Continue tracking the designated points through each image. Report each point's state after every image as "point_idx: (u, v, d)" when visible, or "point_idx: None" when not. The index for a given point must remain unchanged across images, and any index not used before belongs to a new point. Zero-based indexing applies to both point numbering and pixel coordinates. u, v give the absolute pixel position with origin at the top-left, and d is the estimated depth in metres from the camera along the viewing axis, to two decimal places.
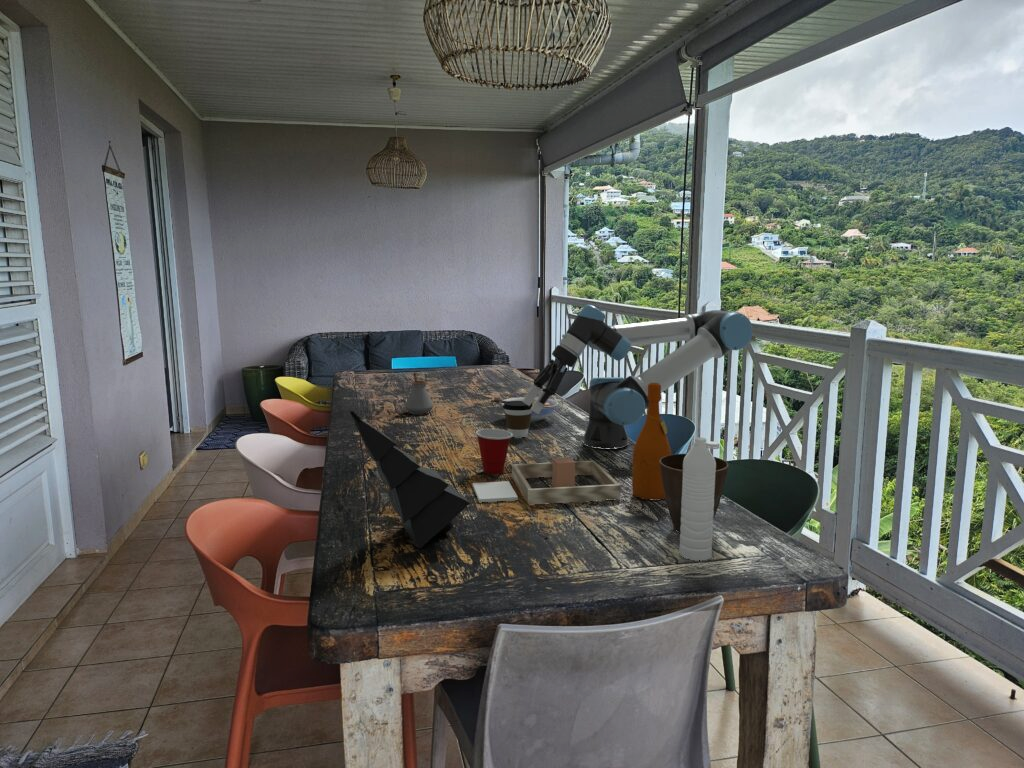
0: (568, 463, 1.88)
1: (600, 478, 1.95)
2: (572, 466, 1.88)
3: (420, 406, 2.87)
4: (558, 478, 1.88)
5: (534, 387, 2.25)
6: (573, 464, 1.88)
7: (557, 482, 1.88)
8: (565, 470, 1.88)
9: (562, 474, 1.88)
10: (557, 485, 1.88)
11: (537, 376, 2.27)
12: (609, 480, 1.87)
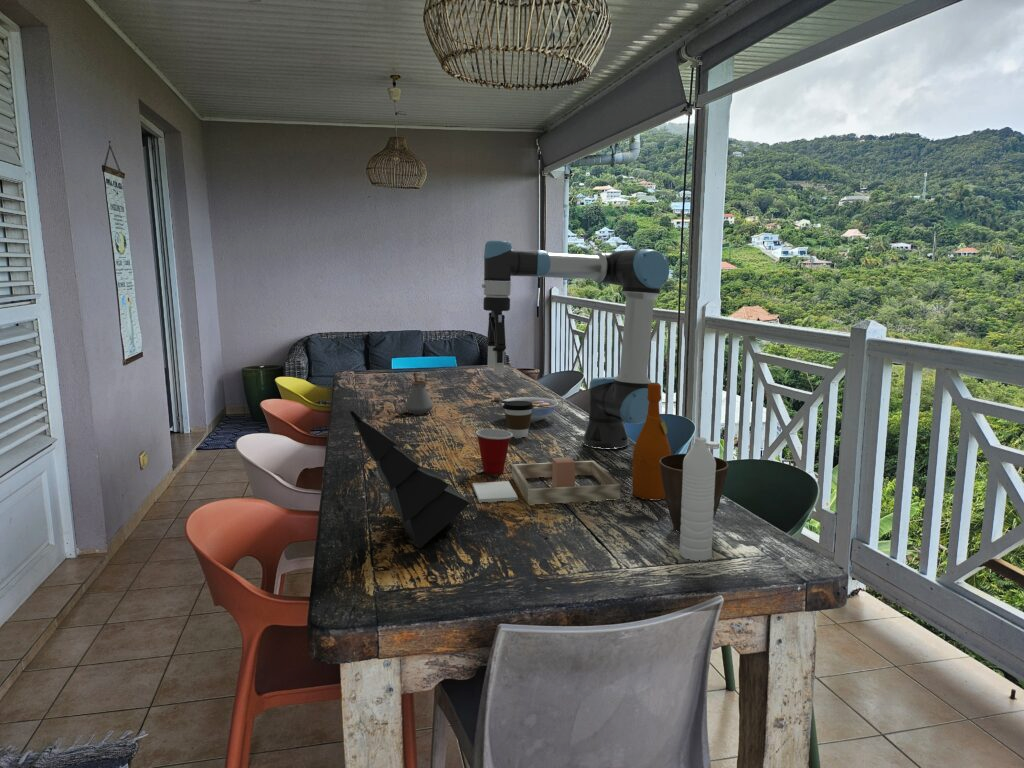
0: (568, 463, 1.88)
1: (600, 478, 1.95)
2: (572, 466, 1.88)
3: (420, 406, 2.87)
4: (558, 478, 1.88)
5: (490, 348, 2.08)
6: (573, 464, 1.88)
7: (557, 482, 1.88)
8: (565, 470, 1.88)
9: (562, 474, 1.88)
10: (557, 485, 1.88)
11: (487, 336, 2.10)
12: (609, 480, 1.87)
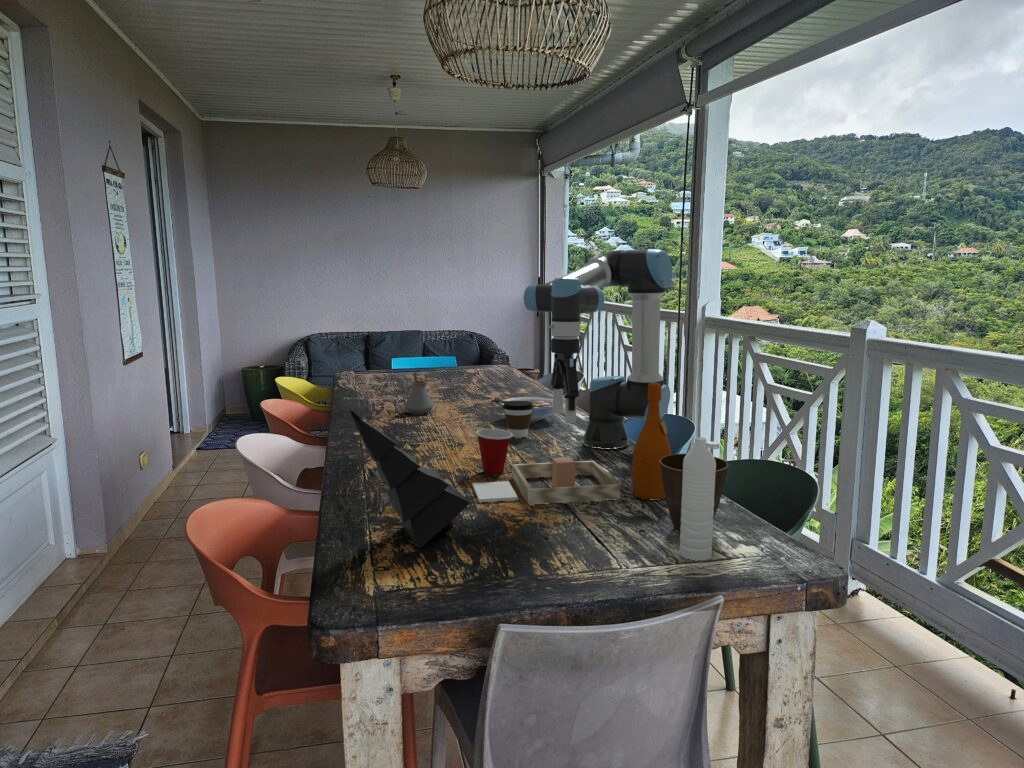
0: (568, 463, 1.88)
1: (600, 478, 1.95)
2: (572, 466, 1.88)
3: (420, 406, 2.87)
4: (558, 478, 1.88)
5: (555, 391, 1.93)
6: (573, 464, 1.88)
7: (557, 482, 1.88)
8: (565, 470, 1.88)
9: (562, 474, 1.88)
10: (557, 485, 1.88)
11: (552, 378, 1.95)
12: (609, 480, 1.87)
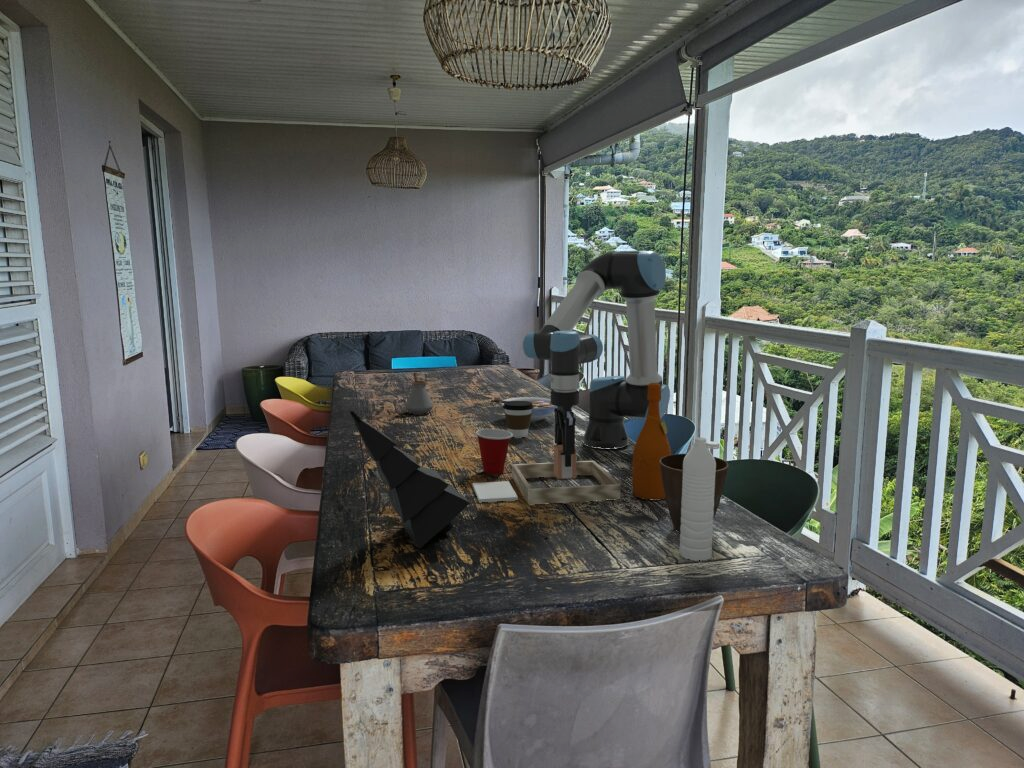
0: None
1: (600, 478, 1.95)
2: None
3: (420, 406, 2.87)
4: (559, 465, 1.88)
5: None
6: None
7: (558, 469, 1.88)
8: None
9: None
10: (558, 472, 1.88)
11: None
12: (609, 480, 1.87)
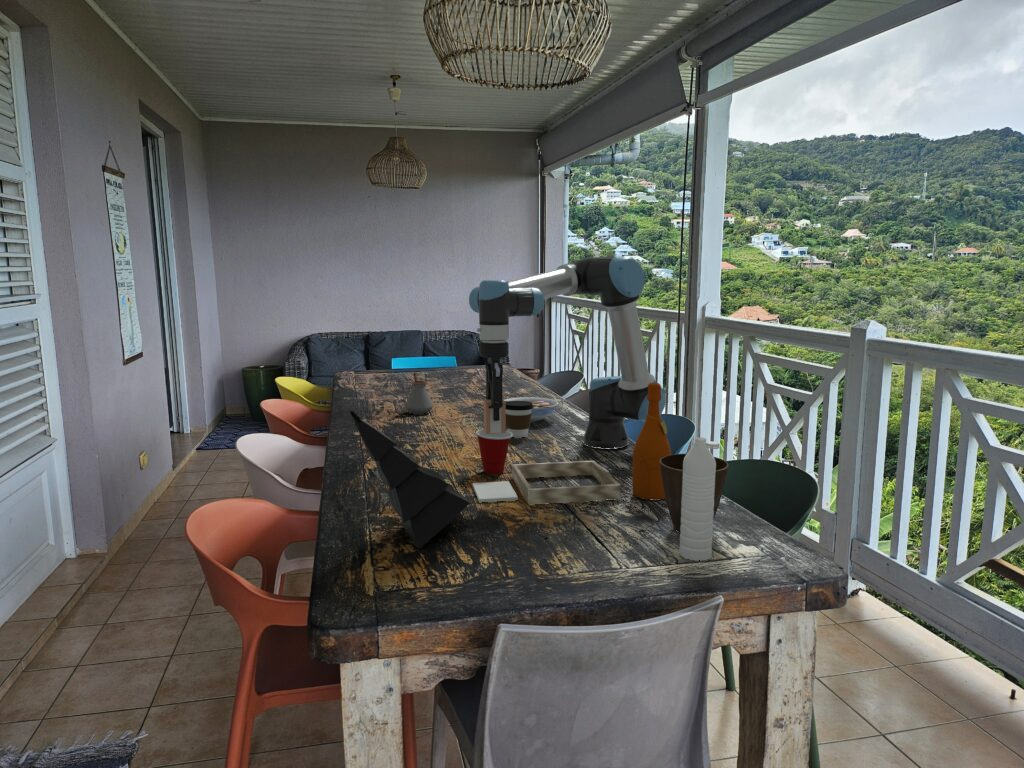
0: None
1: (600, 478, 1.95)
2: (502, 406, 1.81)
3: (420, 406, 2.87)
4: (488, 419, 1.81)
5: None
6: (503, 405, 1.81)
7: (487, 423, 1.81)
8: None
9: None
10: (487, 426, 1.81)
11: (486, 391, 1.88)
12: (609, 480, 1.87)
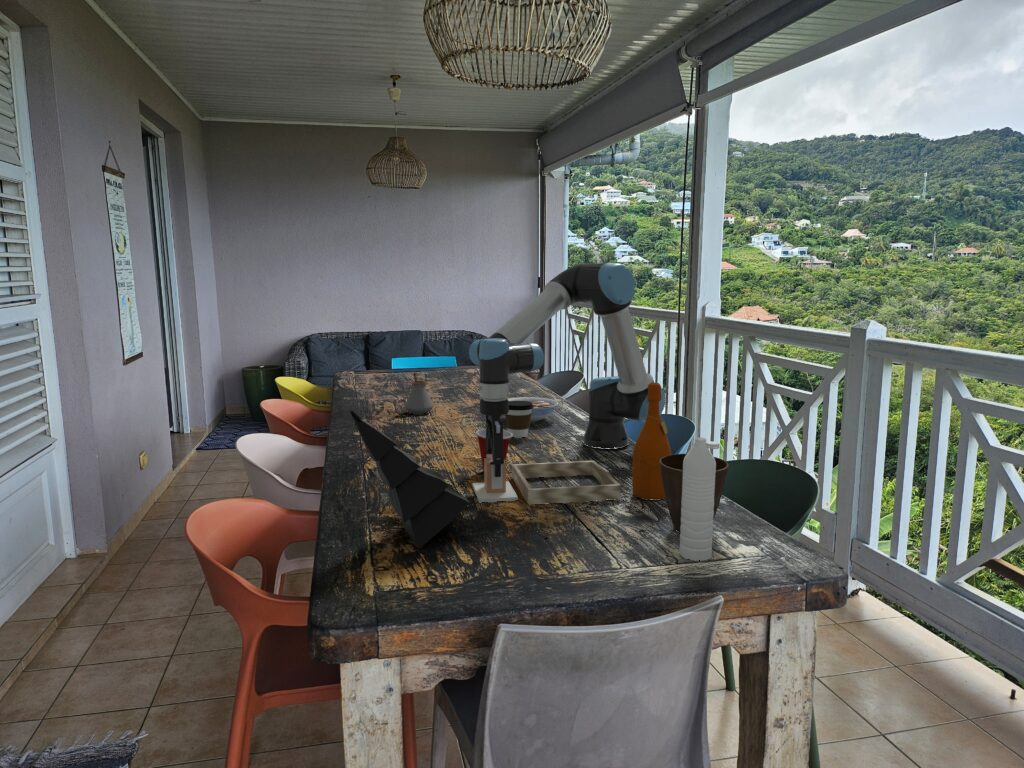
0: None
1: (600, 478, 1.95)
2: (503, 466, 1.84)
3: (420, 406, 2.87)
4: (488, 479, 1.84)
5: (489, 457, 1.90)
6: (504, 464, 1.84)
7: (487, 483, 1.84)
8: None
9: None
10: (487, 486, 1.84)
11: None
12: (609, 480, 1.87)
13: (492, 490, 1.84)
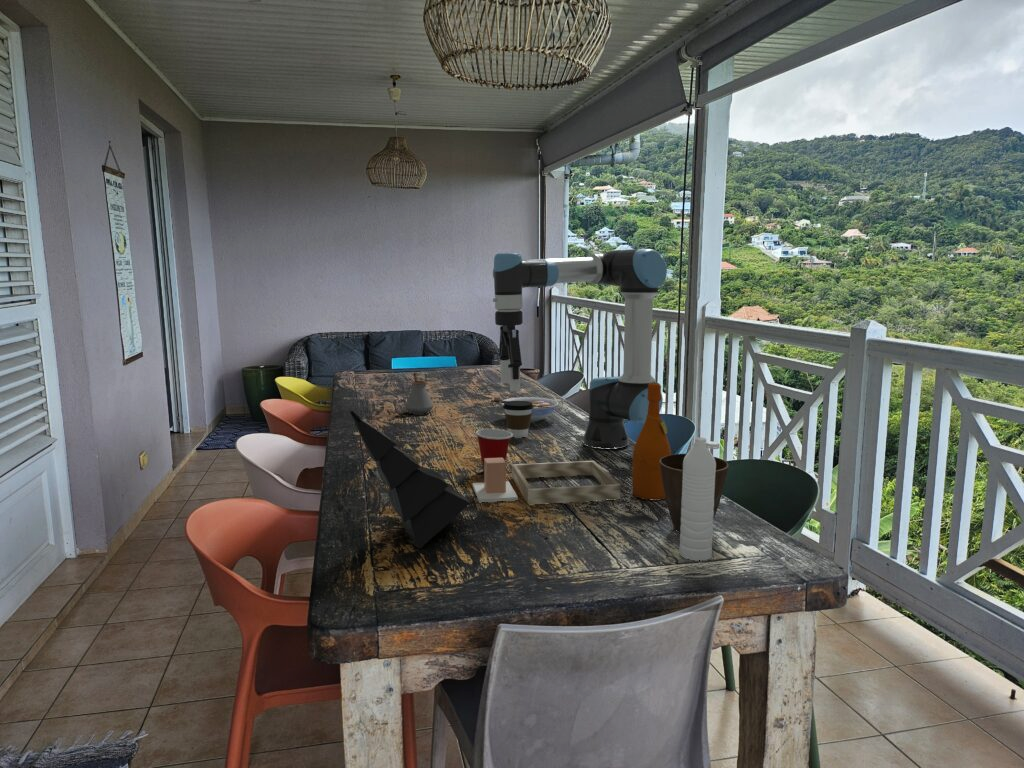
0: (498, 464, 1.83)
1: (600, 478, 1.95)
2: (503, 466, 1.84)
3: (420, 406, 2.87)
4: (488, 479, 1.84)
5: (503, 362, 2.02)
6: (504, 464, 1.84)
7: (487, 483, 1.84)
8: (496, 471, 1.84)
9: (492, 475, 1.84)
10: (487, 486, 1.84)
11: (499, 349, 2.04)
12: (609, 480, 1.87)
13: (492, 490, 1.84)
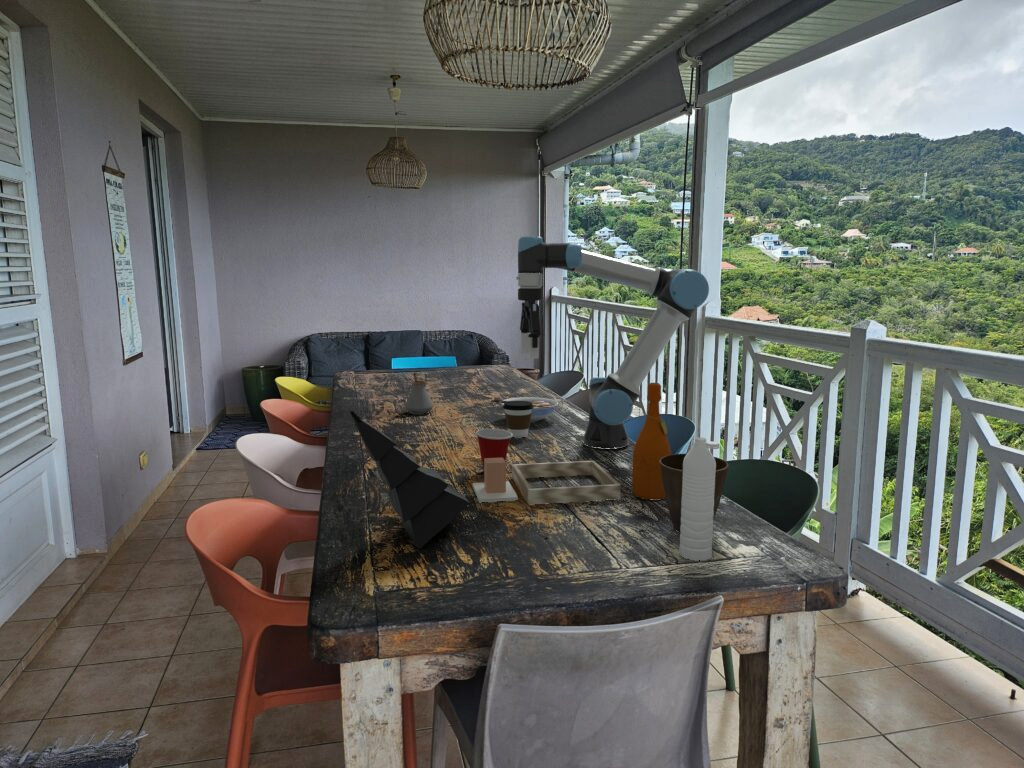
0: (498, 464, 1.83)
1: (600, 478, 1.95)
2: (503, 466, 1.84)
3: (420, 406, 2.87)
4: (488, 479, 1.84)
5: (523, 335, 2.27)
6: (504, 464, 1.84)
7: (487, 483, 1.84)
8: (496, 471, 1.84)
9: (492, 475, 1.84)
10: (487, 486, 1.84)
11: (520, 324, 2.29)
12: (609, 480, 1.87)
13: (492, 490, 1.84)
